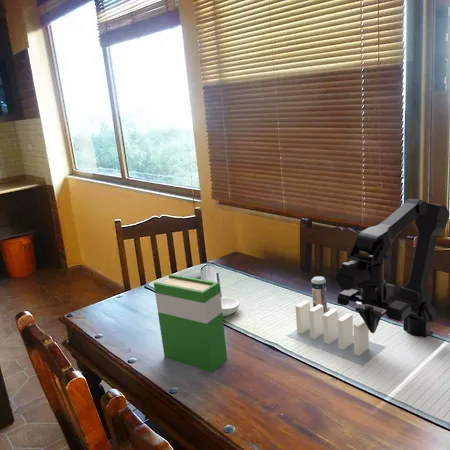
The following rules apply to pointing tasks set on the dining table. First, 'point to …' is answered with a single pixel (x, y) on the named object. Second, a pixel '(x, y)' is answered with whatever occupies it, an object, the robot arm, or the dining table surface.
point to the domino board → (334, 347)
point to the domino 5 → (361, 337)
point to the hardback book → (191, 321)
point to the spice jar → (319, 291)
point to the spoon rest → (229, 306)
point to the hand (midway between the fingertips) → (372, 332)
